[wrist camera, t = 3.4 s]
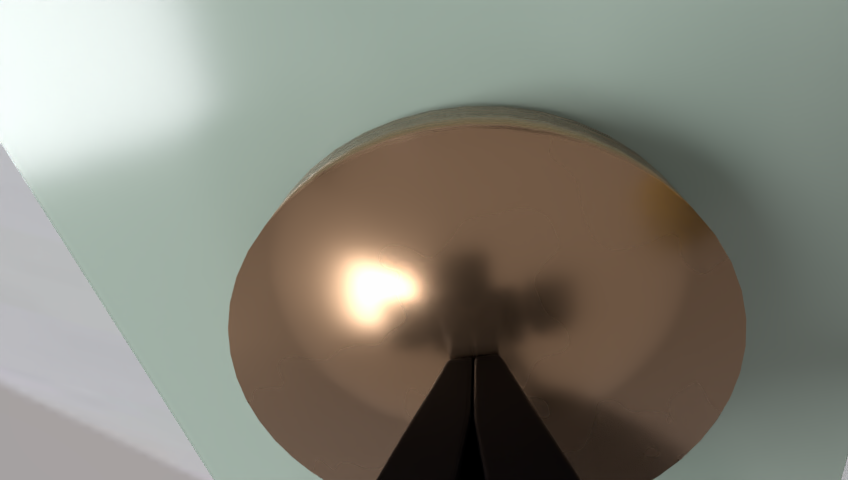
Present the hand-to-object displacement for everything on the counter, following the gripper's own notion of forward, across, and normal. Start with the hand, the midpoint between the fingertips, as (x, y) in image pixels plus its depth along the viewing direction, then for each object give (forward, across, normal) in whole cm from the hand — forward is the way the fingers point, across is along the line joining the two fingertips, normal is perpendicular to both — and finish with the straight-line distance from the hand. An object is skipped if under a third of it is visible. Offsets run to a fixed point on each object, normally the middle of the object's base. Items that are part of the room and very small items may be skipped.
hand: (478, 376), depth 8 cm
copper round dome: (+5, 0, 0) cm, 5 cm away
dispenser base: (+6, 0, 0) cm, 6 cm away
